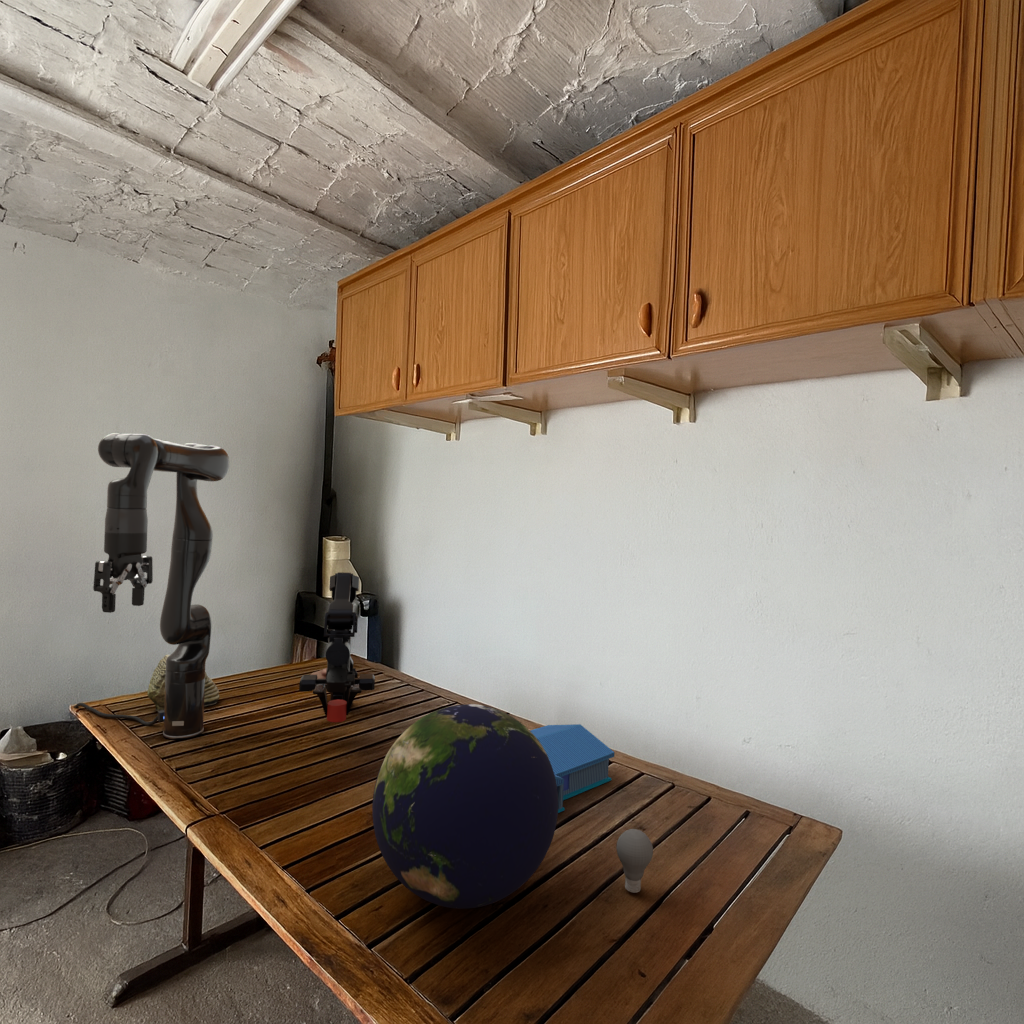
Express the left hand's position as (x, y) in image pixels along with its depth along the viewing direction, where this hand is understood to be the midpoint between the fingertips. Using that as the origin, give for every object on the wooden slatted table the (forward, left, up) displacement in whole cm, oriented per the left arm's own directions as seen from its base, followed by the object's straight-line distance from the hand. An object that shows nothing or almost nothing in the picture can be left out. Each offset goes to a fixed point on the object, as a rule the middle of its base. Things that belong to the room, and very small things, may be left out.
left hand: (123, 608), depth 131 cm
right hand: (0, +49, -32) cm, 59 cm away
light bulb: (+89, +56, -38) cm, 112 cm away
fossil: (-49, +27, -38) cm, 67 cm away
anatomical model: (-53, +75, -38) cm, 100 cm away
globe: (+71, +34, -38) cm, 88 cm away
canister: (0, +49, -33) cm, 59 cm away
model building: (+51, +68, -38) cm, 94 cm away
